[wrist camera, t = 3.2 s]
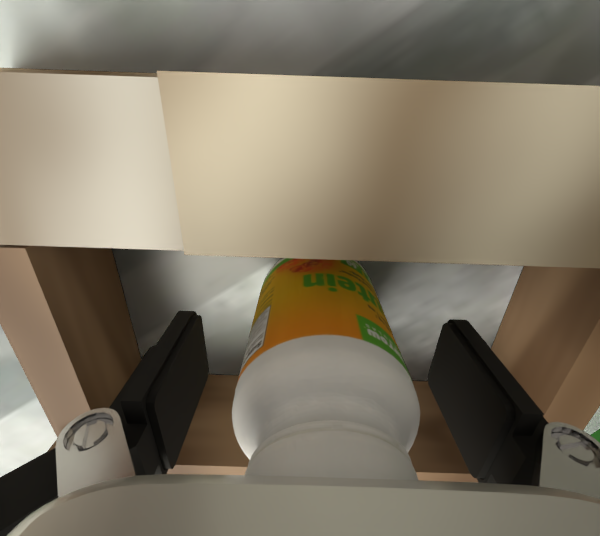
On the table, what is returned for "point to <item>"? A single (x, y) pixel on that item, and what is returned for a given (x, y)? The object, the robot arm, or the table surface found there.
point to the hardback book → (596, 435)
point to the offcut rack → (294, 218)
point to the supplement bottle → (324, 379)
